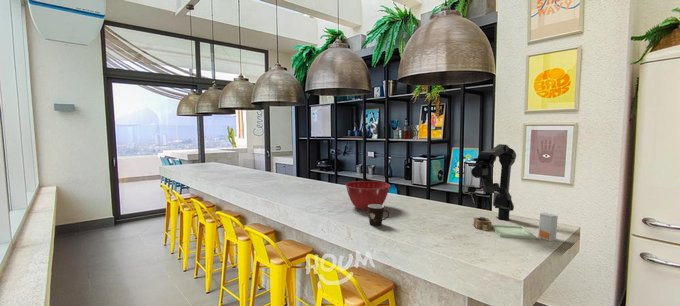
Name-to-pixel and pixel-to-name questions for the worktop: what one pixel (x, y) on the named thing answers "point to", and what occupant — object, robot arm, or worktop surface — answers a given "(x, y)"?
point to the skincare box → (548, 226)
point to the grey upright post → (481, 220)
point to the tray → (513, 231)
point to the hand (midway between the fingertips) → (484, 205)
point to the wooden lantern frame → (482, 224)
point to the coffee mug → (376, 214)
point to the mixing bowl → (367, 193)
